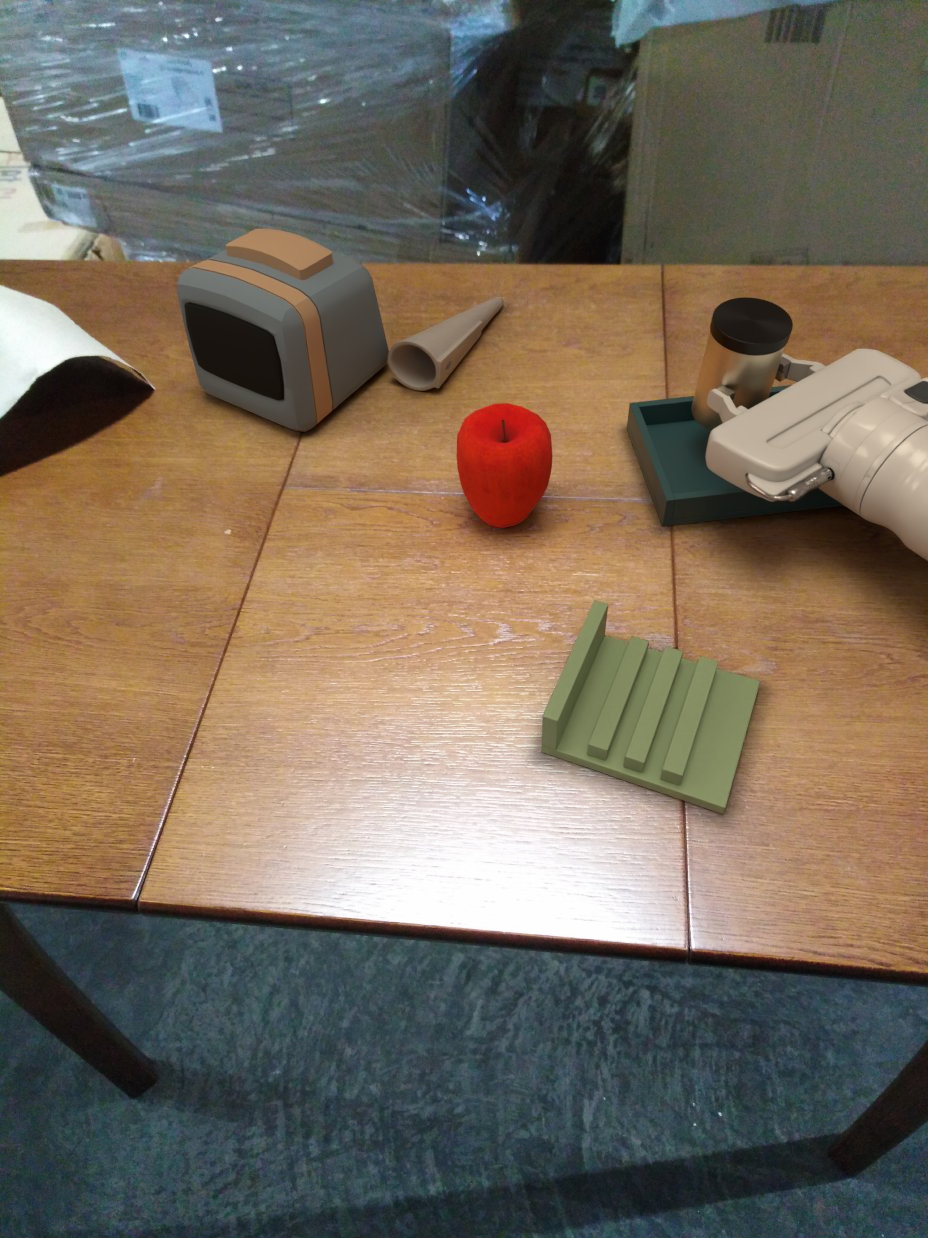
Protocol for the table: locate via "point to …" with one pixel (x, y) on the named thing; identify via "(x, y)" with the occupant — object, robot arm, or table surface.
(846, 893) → the table surface
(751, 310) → the travel mug
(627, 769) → the drying rack
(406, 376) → the long tapered cone
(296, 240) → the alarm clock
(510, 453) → the apple
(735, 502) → the tray
